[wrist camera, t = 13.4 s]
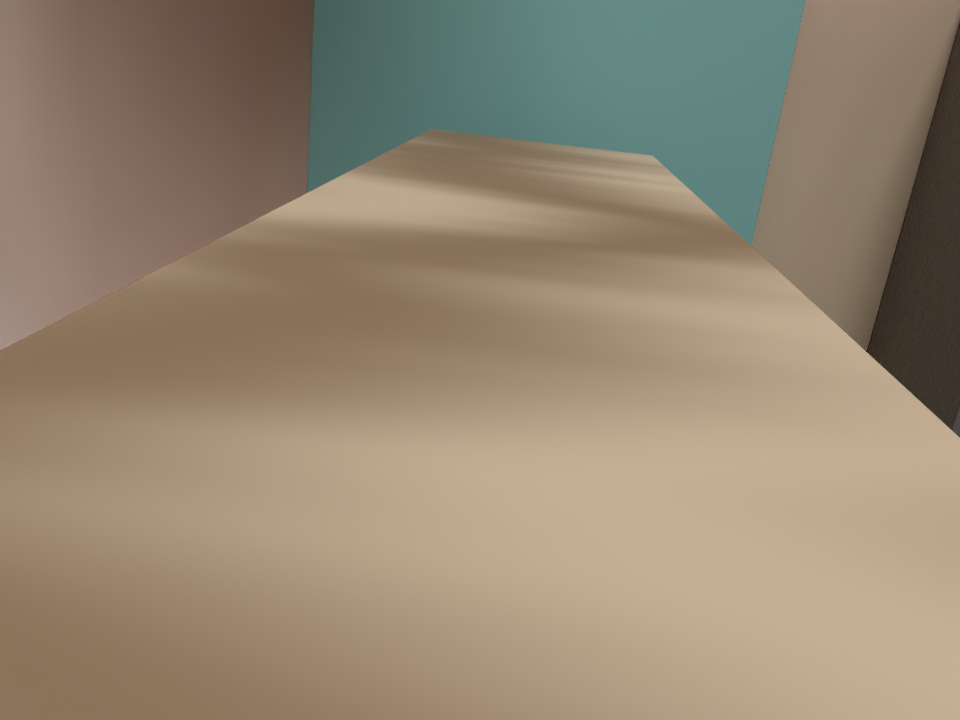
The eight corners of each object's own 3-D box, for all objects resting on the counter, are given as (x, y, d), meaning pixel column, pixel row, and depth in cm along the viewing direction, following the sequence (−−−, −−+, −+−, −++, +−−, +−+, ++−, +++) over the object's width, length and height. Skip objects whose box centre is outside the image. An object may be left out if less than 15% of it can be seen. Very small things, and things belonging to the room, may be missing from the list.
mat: (798, -3, 16) (806, -6, 15) (634, 748, 22) (636, 763, 21) (323, -56, 16) (316, -59, 15) (293, 698, 22) (288, 712, 21)
